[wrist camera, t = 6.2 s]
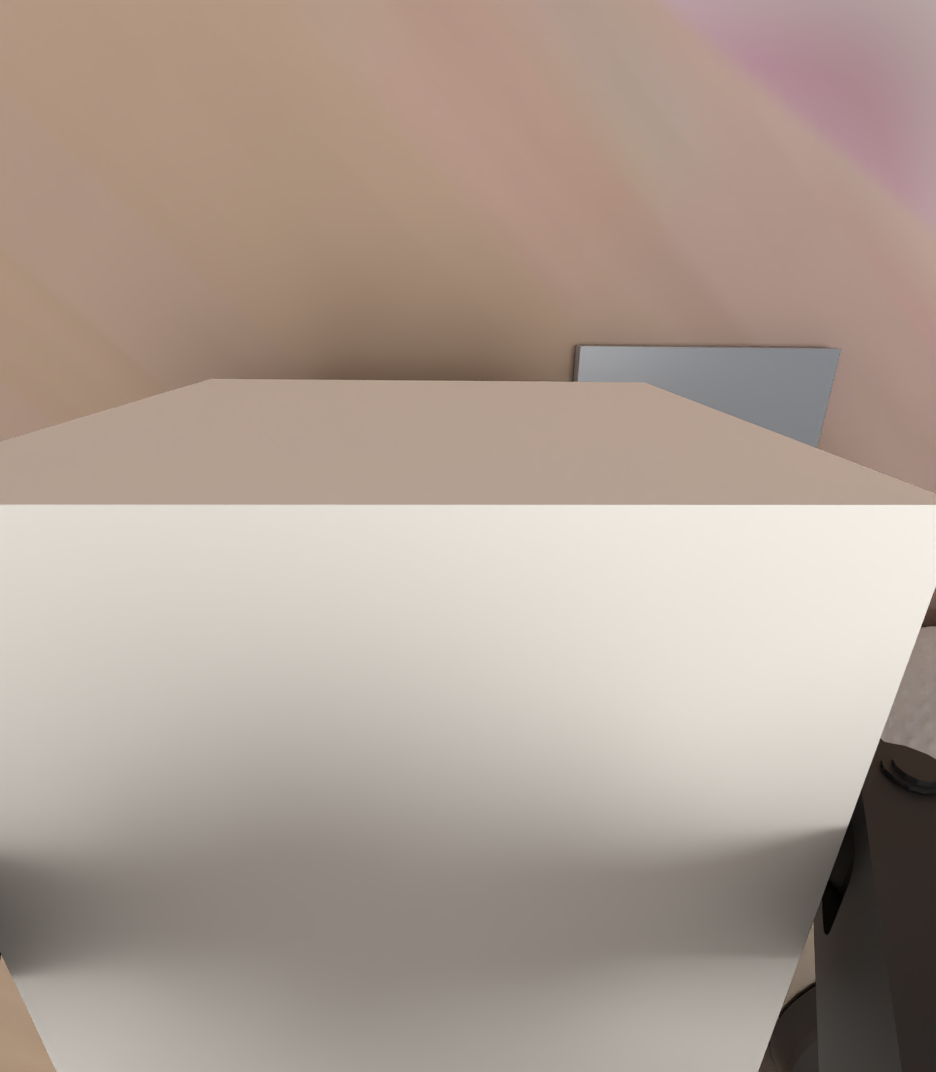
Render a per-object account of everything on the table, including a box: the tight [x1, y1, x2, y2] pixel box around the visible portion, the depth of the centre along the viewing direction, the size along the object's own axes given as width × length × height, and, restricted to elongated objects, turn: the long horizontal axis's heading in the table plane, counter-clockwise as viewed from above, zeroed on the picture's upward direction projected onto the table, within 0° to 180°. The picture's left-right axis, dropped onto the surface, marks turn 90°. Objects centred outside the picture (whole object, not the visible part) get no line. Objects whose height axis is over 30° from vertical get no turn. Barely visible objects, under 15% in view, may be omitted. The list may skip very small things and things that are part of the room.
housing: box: [0, 379, 936, 1072], centre depth 11 cm, size 10×10×9 cm
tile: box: [573, 345, 841, 448], centre depth 21 cm, size 11×10×6 cm
